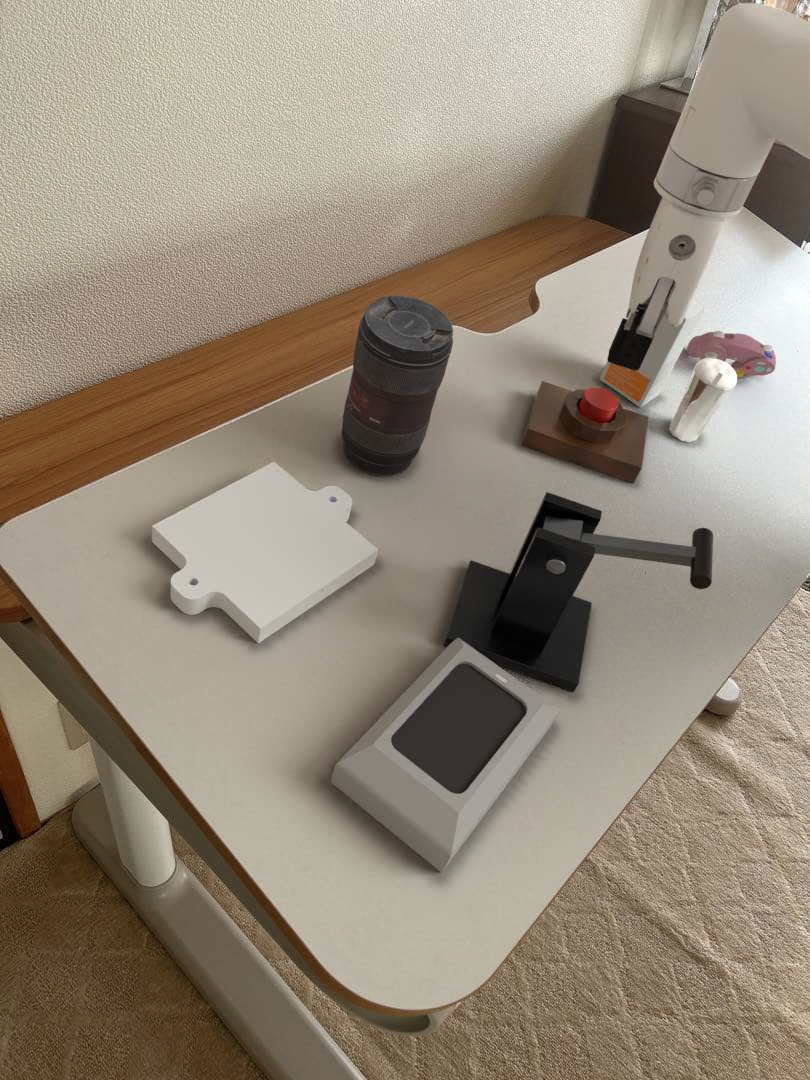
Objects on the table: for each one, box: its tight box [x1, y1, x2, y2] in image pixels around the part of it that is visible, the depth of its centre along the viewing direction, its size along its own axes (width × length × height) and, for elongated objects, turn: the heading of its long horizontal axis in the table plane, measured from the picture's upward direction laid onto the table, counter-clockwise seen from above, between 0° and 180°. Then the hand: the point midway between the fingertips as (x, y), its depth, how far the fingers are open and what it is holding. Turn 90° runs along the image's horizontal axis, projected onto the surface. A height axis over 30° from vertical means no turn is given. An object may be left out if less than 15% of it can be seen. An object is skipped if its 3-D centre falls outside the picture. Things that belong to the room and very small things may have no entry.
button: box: [579, 386, 619, 423], centre depth 90 cm, size 4×4×2 cm
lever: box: [543, 516, 714, 590], centre depth 65 cm, size 12×5×2 cm, turn 74°
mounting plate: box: [151, 461, 379, 644], centre depth 73 cm, size 18×13×2 cm
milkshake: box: [668, 358, 738, 443], centre depth 94 cm, size 4×5×10 cm
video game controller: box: [686, 330, 777, 379], centre depth 106 cm, size 10×5×7 cm, turn 81°
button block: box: [521, 380, 649, 484], centre depth 92 cm, size 12×9×4 cm
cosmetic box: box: [599, 300, 705, 408], centre depth 97 cm, size 6×4×12 cm
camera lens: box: [341, 295, 454, 477], centre depth 79 cm, size 8×8×15 cm
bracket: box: [442, 491, 603, 693], centre depth 69 cm, size 11×9×13 cm
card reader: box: [329, 638, 560, 874], centre depth 63 cm, size 10×4×15 cm
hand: (623, 361), depth 86 cm, fingers closed
